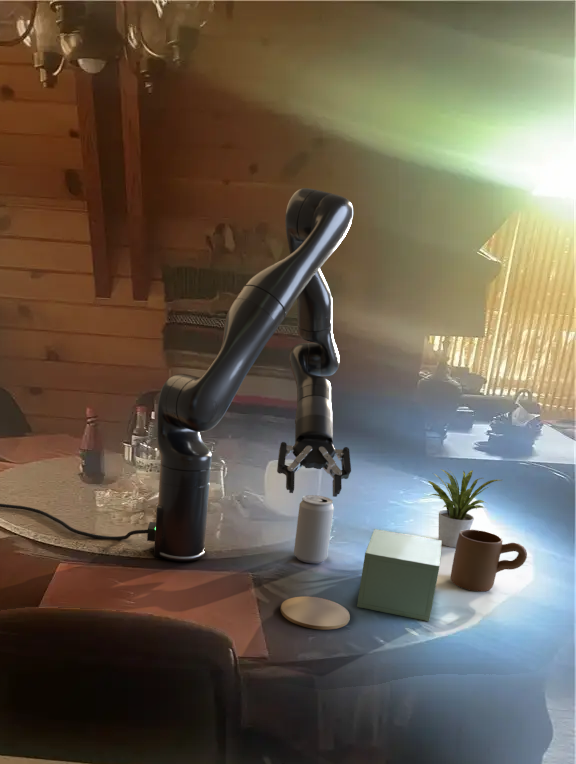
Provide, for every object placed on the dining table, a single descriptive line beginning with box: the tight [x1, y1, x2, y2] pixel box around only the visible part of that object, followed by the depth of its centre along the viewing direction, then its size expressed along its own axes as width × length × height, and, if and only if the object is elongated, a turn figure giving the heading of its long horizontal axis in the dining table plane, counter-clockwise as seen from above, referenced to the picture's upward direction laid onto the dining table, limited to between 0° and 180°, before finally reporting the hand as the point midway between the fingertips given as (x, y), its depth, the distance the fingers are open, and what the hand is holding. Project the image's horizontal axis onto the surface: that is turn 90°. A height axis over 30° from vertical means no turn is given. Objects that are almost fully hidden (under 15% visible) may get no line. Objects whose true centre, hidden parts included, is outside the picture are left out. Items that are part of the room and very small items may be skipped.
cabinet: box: [356, 528, 443, 622], centre depth 128 cm, size 14×12×10 cm
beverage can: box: [293, 494, 335, 564], centre depth 143 cm, size 6×6×12 cm
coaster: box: [280, 596, 351, 631], centre depth 121 cm, size 11×11×1 cm
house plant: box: [427, 468, 502, 548], centre depth 158 cm, size 14×14×16 cm
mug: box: [450, 529, 528, 592], centre depth 137 cm, size 12×8×9 cm, turn 71°
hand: (313, 493), depth 147 cm, fingers open, 8 cm apart
